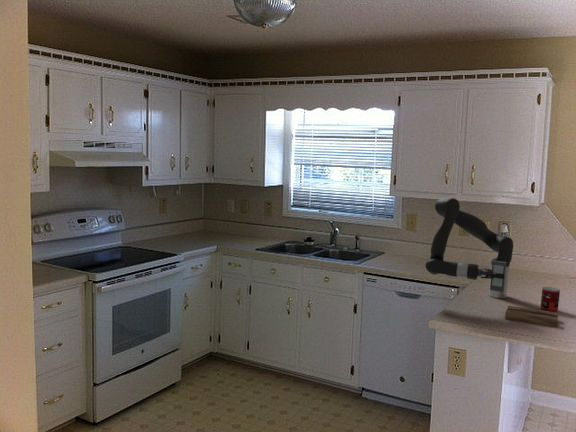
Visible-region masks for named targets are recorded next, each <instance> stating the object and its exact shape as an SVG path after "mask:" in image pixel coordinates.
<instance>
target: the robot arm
mask: <svg viewBox="0 0 576 432" xmlns="http://www.w3.org/2000/svg"><path fill="white" fill-rule="evenodd" d="M460 206H461V204H460V202H459V200H458V199H457V198H453V197H447V198H446V197H442V198H440V199H437V201H436V202H435V204H434V209H435V211H436V212H437V214H438V215H439V216H441V217H442V218H444V219H443V221H442V223H441V225H440V227H439V228H438V230H437V231H436V233H435V234H434V237H433V239H432V243H431V247H430V256H429V257H430V258H429V259H428V260H427V261H426V262H425V269H426V271H427V272H428V273H430V274H432V275H438V274H439V275H445V276H450V277H456V278H459V279H466V280H474V281H477V280H478V277H480V278H481V279H489V285H488V286H489V288H488V296H489V297H491V298H496V299H507V295H508V283H509V274H510V264H511V261H512V258H513V252H514V251H513V250H514V241H513V239H512V238H511V237H509V236H506V235H501V234H498V233H495V232H494V231H492V230H490V229H489V227H488V226H487V224H486V223H485V221H483V220H482V219H480V218H479V217H478V216H476V215H474V214H472V213H468V212H467V211H463V210H460V208H461V207H460ZM454 224H455V225H456V226H458V227H459V228H461V229H463V231H465V232H466V233H468V234H470V235H471V236H473V237H474V238H476V239H477V240H479V241H481V242H483V243H484V244H485V245H486V246H487V247H488V248H490V249H491V250H492V251H494V252H497V256H496V257H494V258H492V259H491V263H490V268H486V267H485V268H480V269H479V265H478V264H476V263H468V262H455V261H445V260H444V258H445V256H444V255H445V253H446V248H447V244H448V240H449V238H450V234H451V231H452V229H453V227H454ZM492 261H501V262H506V272H505V275H504V274H499V273H493V272H492ZM504 276H505V283H504V291H503V292H500V291H493V290H490V284H491V279H494V278H500V279H504Z"/></svg>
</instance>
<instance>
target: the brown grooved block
mask: <svg viewBox="0 0 576 432" xmlns="http://www.w3.org/2000/svg"><path fill="white" fill-rule="evenodd" d="M558 316H559V313H558V312H549V311H544V310H542V309H541V310H540V309H533V308H527V307H520V306H514V305H508V306H507V308H506V310H505V316H504V320H508V321H514V322H522V323H527V324H534V325H540V326H547V327H554V328H557V327H558V319H559V318H558Z"/></svg>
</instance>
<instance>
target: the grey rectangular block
mask: <svg viewBox="0 0 576 432" xmlns="http://www.w3.org/2000/svg"><path fill="white" fill-rule="evenodd" d="M491 261H492V260H491ZM492 272H493V273H499V274H504V275H505V272H506V262H501V261H492ZM504 283H505V276H504V279H500V278H494V279H491V284H490V283H489V285H490V290H493V291H500V292H503V291H504Z"/></svg>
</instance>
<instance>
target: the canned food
mask: <svg viewBox="0 0 576 432" xmlns="http://www.w3.org/2000/svg"><path fill="white" fill-rule="evenodd" d="M560 292H561V290H560V288H557V287H552V286H543V287H542V290H541V301H540V309H541V310H542V311H549V312H555V313H558V310H559V303H560V296H561V295H560Z"/></svg>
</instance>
